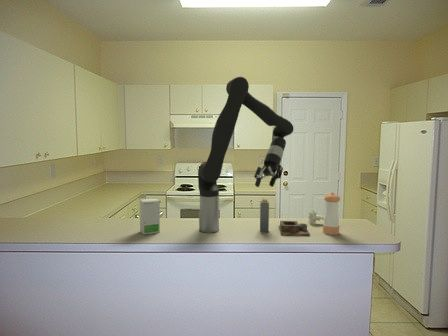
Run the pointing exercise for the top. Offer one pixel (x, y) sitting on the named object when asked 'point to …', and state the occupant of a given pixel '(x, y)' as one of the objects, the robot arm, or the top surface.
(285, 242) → the top surface
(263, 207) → the grey square column
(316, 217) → the valve
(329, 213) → the pepper shaker
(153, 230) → the skincare box
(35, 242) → the top surface
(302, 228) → the bit block
